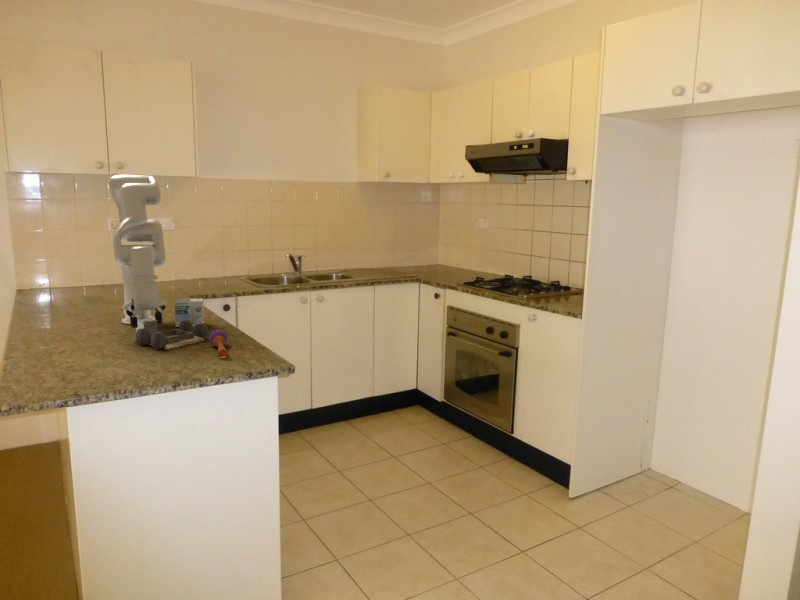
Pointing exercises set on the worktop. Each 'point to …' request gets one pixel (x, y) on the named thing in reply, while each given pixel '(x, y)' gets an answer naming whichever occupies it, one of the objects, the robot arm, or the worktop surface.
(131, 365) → the worktop surface
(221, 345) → the purple maraca
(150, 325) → the grey cube
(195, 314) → the light bulb box
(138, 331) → the chassis board
